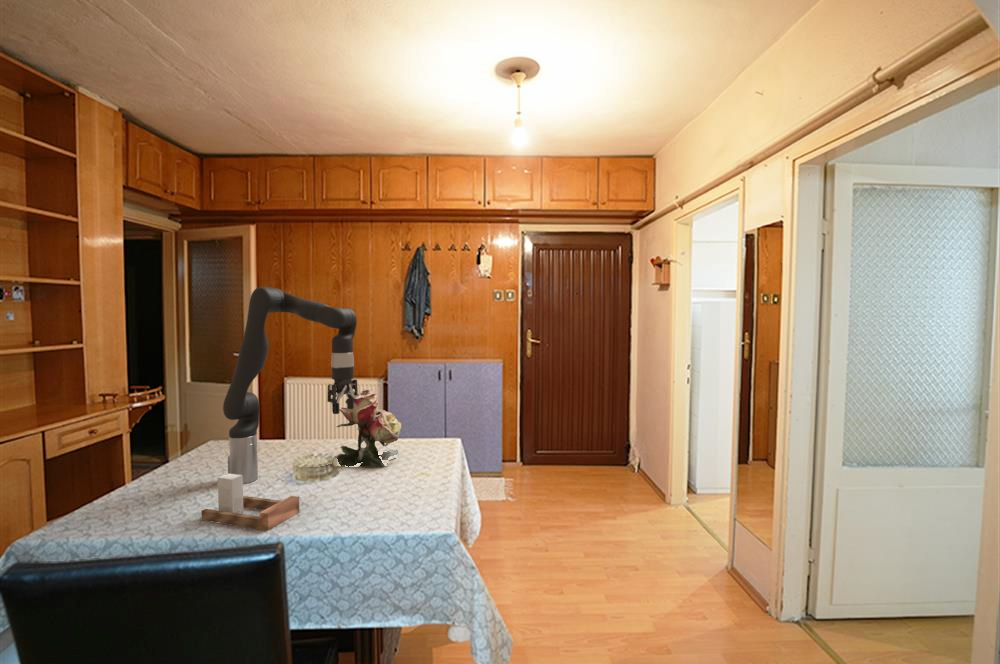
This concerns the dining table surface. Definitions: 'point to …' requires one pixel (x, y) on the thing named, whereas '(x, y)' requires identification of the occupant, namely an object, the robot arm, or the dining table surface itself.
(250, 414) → the robot arm
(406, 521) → the dining table surface
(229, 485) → the skincare box
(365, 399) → the rose bouquet
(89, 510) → the dining table surface
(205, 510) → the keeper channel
